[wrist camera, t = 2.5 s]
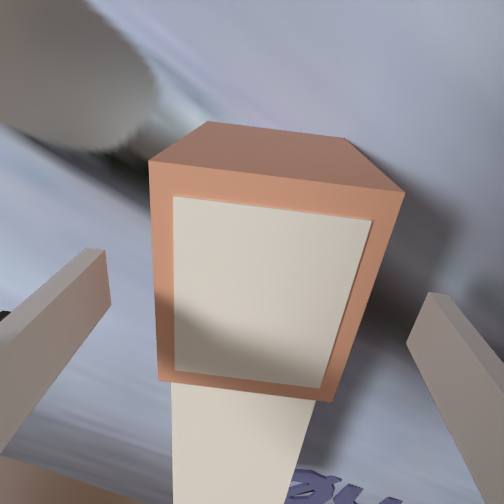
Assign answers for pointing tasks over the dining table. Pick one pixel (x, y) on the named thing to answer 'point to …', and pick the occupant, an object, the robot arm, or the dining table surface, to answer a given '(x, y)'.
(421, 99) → the dining table surface
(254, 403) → the pad
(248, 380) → the tan box
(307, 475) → the signage
